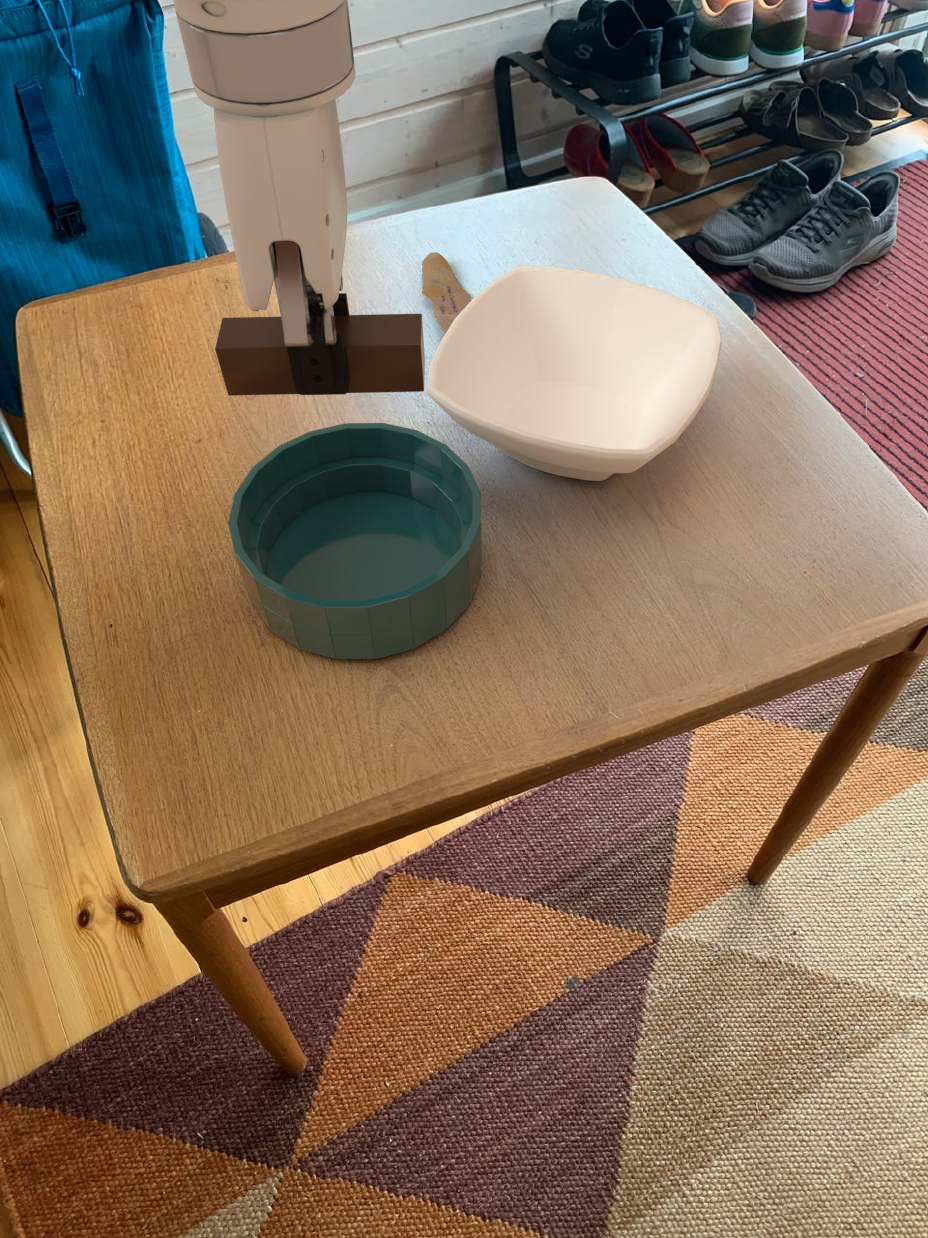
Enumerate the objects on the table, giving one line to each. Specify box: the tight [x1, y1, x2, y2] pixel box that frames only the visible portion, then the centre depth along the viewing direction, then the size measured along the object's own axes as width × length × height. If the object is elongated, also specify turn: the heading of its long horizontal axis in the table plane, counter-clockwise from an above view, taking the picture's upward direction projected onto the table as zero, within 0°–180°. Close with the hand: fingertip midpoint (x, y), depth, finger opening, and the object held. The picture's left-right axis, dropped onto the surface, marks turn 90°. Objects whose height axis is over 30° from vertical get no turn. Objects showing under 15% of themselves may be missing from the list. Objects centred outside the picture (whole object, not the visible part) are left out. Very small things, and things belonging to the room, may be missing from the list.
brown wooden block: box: [214, 313, 426, 397], centre depth 56 cm, size 12×3×4 cm, turn 90°
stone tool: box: [421, 251, 472, 334], centre depth 87 cm, size 5×2×15 cm
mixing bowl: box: [228, 422, 482, 660], centre depth 66 cm, size 17×17×6 cm
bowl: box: [426, 265, 723, 482], centre depth 73 cm, size 21×21×9 cm
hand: (325, 369), depth 57 cm, fingers closed on brown wooden block, 3 cm apart
